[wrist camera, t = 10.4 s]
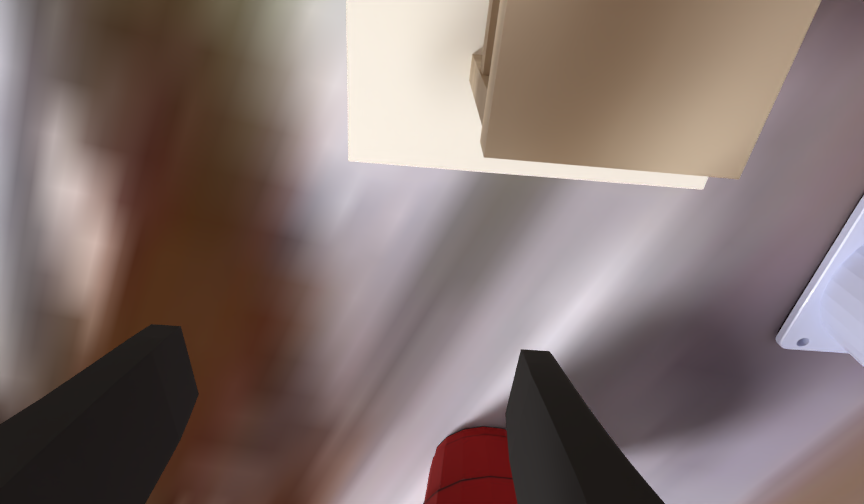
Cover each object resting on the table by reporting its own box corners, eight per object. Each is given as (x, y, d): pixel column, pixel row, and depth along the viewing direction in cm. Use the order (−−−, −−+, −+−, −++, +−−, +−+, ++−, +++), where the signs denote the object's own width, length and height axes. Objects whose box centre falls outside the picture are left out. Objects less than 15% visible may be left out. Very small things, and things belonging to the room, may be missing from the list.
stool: (678, -98, 13) (893, -158, 7) (621, 97, 15) (739, 179, 9) (489, -118, 12) (537, -199, 6) (465, 83, 15) (483, 157, 9)
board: (851, -215, 12) (876, -226, 11) (692, 181, 18) (702, 189, 17) (347, -270, 12) (341, -285, 11) (351, 153, 17) (348, 161, 17)
